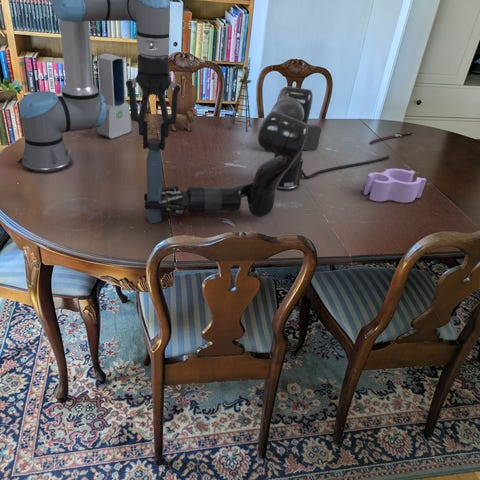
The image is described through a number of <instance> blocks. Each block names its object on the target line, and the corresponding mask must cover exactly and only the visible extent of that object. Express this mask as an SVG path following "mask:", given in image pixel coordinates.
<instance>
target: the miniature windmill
mask: <svg viewBox="0 0 480 480" xmlns="http://www.w3.org/2000/svg"><path fill="white" fill-rule="evenodd" d="M249 67H251V58H248V60H247V63H246V66H243V65H241V64H238V63H235V68H234V70H239V71H240V70H241V71H242V70H244V74H243V78H240V79H239V80H238V82H239V83H241V84H240V86H239V91H238V95H237V97H236V102H235V106H234V108H233V112H232V113H231V114H232V117H231V118H230V123H229V126H228V129H231V128H232V124H235V122H237V123H244V124H245V131H246V132H248V125H249V126H250V127H251V126H252V124H251V119H252V117H251V113H250V100H249V98H250V97H249V89H248V88H249V86H248V84H251V83H252V80H251V79H249V76H250V73H251V72H250V71H251V68H249ZM242 90H244V92H245V93H244V94H245V95H243V94H242ZM240 100H244V101H245V104H239V103H240ZM239 106H240V107H245V108H238V107H239ZM238 110H239V111H240V110H241V111H245V116H244V115H239V114H237V112H238ZM236 117H240V118H245V121H243V120H236Z"/></svg>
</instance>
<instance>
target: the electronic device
mask: <svg viewBox="0 0 480 480" xmlns="http://www.w3.org/2000/svg"><path fill="white" fill-rule="evenodd" d="M97 67H98V79H99V80H98V81H99V93H101V94H102V95H103V97H104V99H105V104H106V118H105V121H104V123H103V124H102V125H101V126H100V127H96V131H97V133H98V134H99V135H100V136H103V137H104V138H105V137H106V138H109V139H115V138H117V137H120V136H123V135H126V134H129V133H130V132H131V131H132V122H131V121H132V120H131V112H130V103H128V102H127V100H126V99H127V98H126V96H127V95H126V75H125V73H126V72H125V58H124V57H122V56H118V55H115V54H110V53H102V54H99V55H98V56H97Z"/></svg>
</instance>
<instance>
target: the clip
mask: <svg viewBox="0 0 480 480" xmlns="http://www.w3.org/2000/svg"><path fill="white" fill-rule="evenodd" d="M415 173H416V171H415V170H412V169H411V170H407V169H402V168H388V169H385V171H382V172H375V171H374V172H370V173H368V175H367V178H366V181H365V186H364V189H363V192H362V193H363V195H366V196H367V195H368V194H369V193H370V194H369V197H368V198H369V200H370V201H375V202H386V201H392V202H397V203H412V202H414V201H415V200H416V198H417V199H420V198H421V197H422V194H423V191H424V188H425V185H426V183H427V178H424V177H419V176H417V177H416V178H415V180H414V181H413V179H414V175H415Z"/></svg>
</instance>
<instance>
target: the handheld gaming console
mask: <svg viewBox="0 0 480 480" xmlns="http://www.w3.org/2000/svg"><path fill="white" fill-rule="evenodd" d="M307 126H308V135H307V138H306V141H305V144H304V146H303V151H312V150H317V148H318V147H319V144H320V137H321V133H322V127H321V126H319V125H318V124H307Z"/></svg>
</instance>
